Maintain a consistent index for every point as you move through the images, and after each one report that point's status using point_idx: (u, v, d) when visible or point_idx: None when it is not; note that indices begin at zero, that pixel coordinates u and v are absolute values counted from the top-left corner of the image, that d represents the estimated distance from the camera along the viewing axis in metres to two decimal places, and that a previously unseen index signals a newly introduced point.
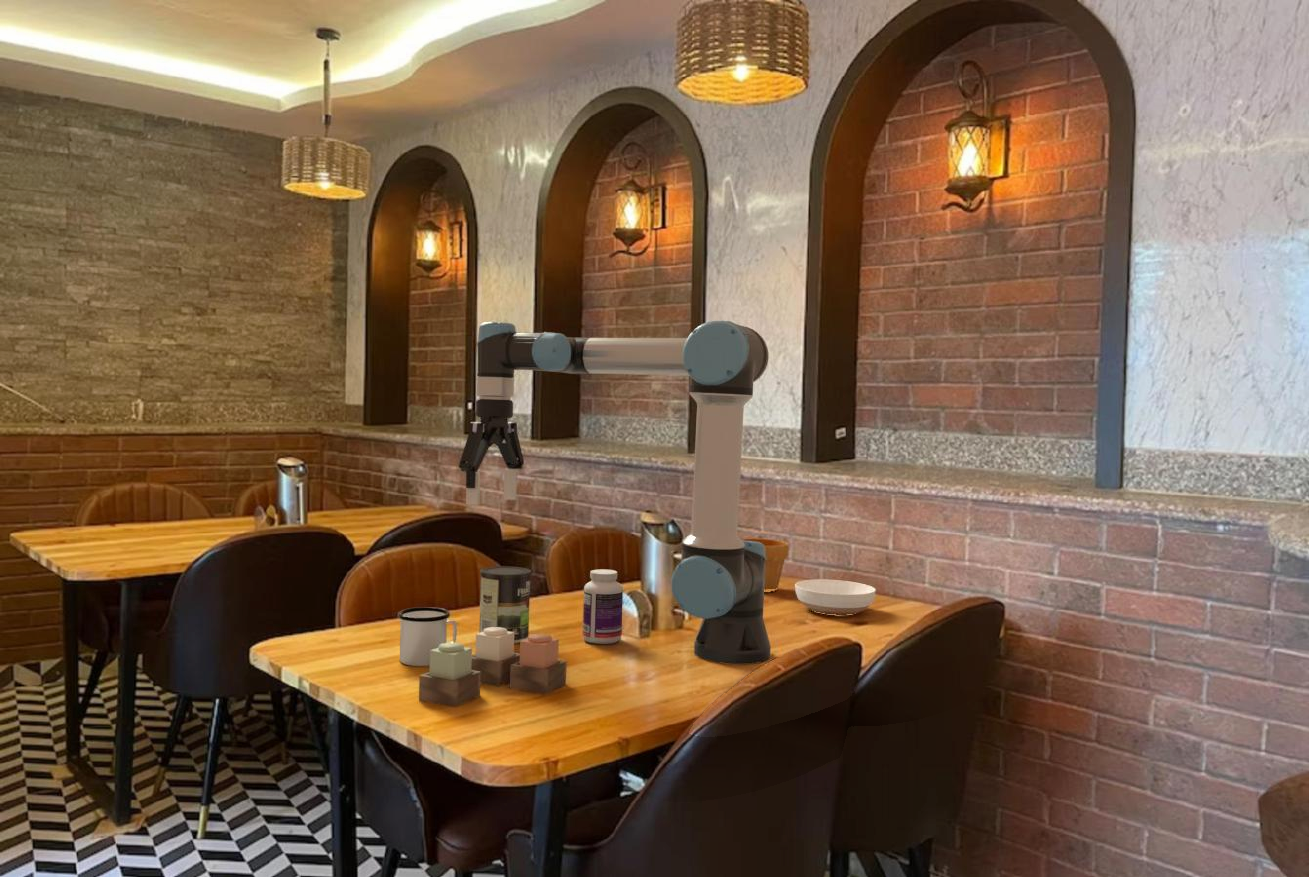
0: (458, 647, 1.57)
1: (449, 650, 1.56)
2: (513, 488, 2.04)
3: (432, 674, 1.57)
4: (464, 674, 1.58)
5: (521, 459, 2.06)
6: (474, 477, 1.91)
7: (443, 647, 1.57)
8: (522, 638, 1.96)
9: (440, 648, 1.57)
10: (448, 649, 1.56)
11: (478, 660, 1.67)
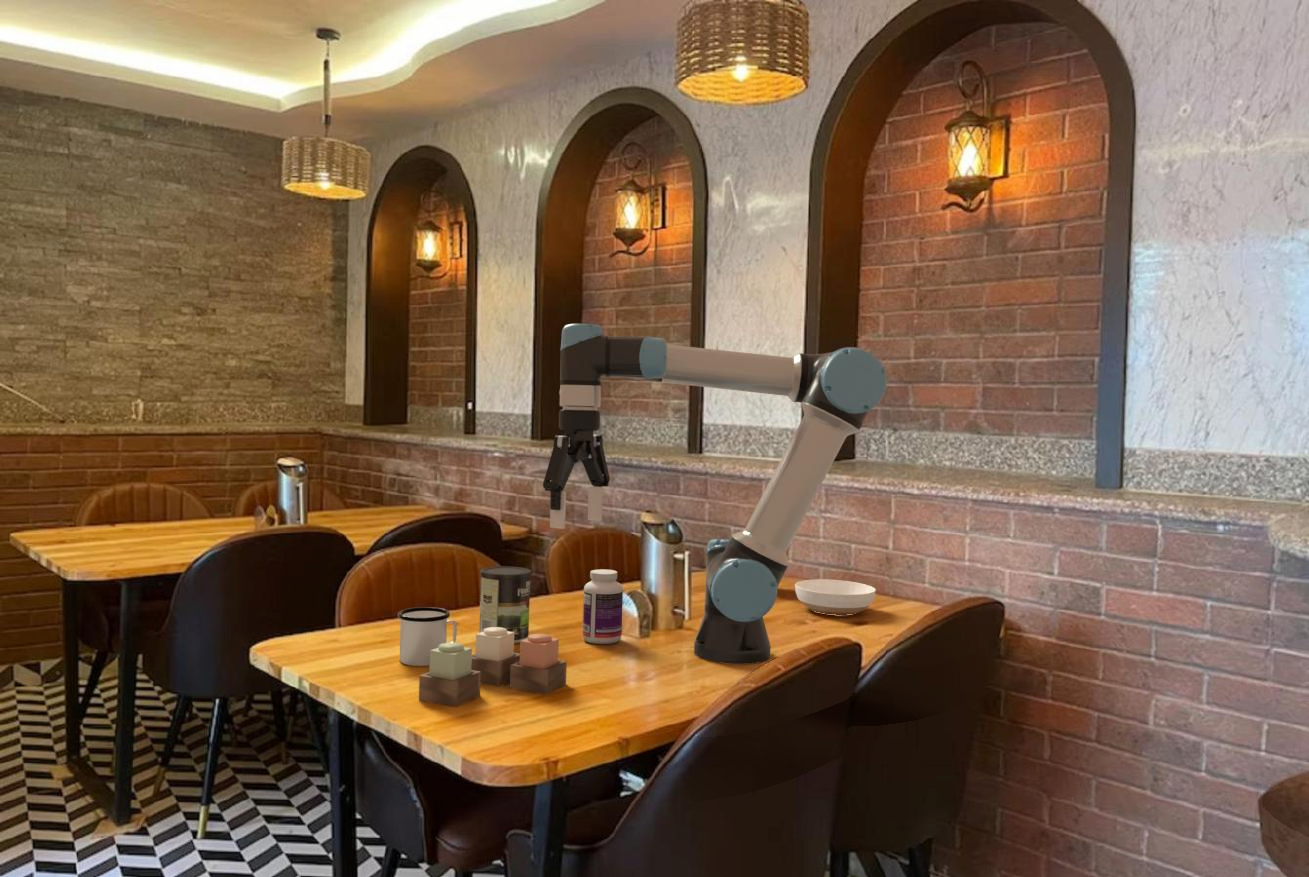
0: (458, 647, 1.57)
1: (449, 650, 1.56)
2: (599, 508, 1.83)
3: (432, 674, 1.57)
4: (464, 674, 1.58)
5: (607, 476, 1.86)
6: (559, 497, 1.71)
7: (443, 647, 1.57)
8: (522, 638, 1.96)
9: (440, 648, 1.57)
10: (448, 649, 1.56)
11: (478, 660, 1.67)
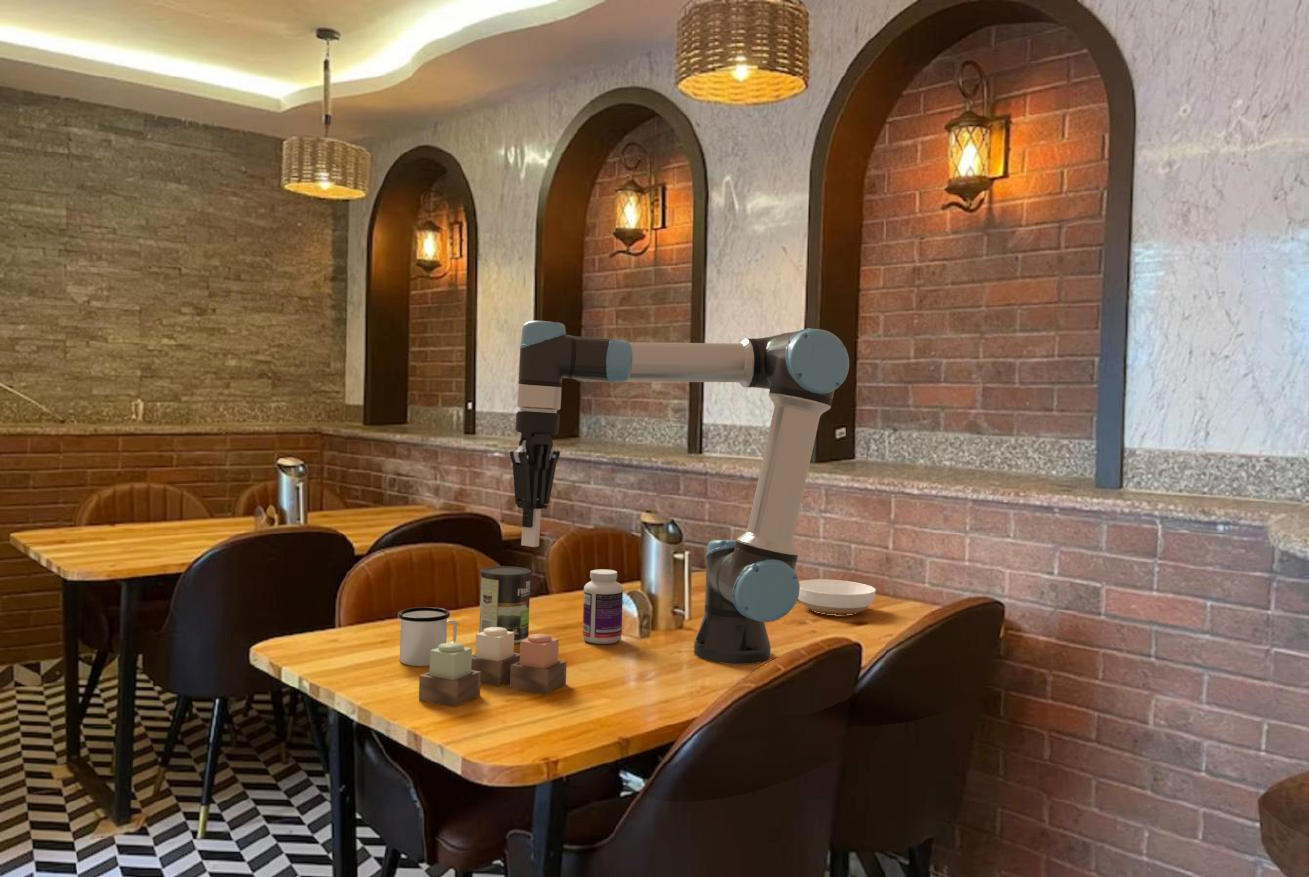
0: (458, 647, 1.57)
1: (449, 650, 1.56)
2: None
3: (432, 674, 1.57)
4: (464, 674, 1.58)
5: (548, 496, 1.71)
6: (532, 515, 1.68)
7: (443, 647, 1.57)
8: (522, 638, 1.96)
9: (440, 648, 1.57)
10: (448, 649, 1.56)
11: (478, 660, 1.67)
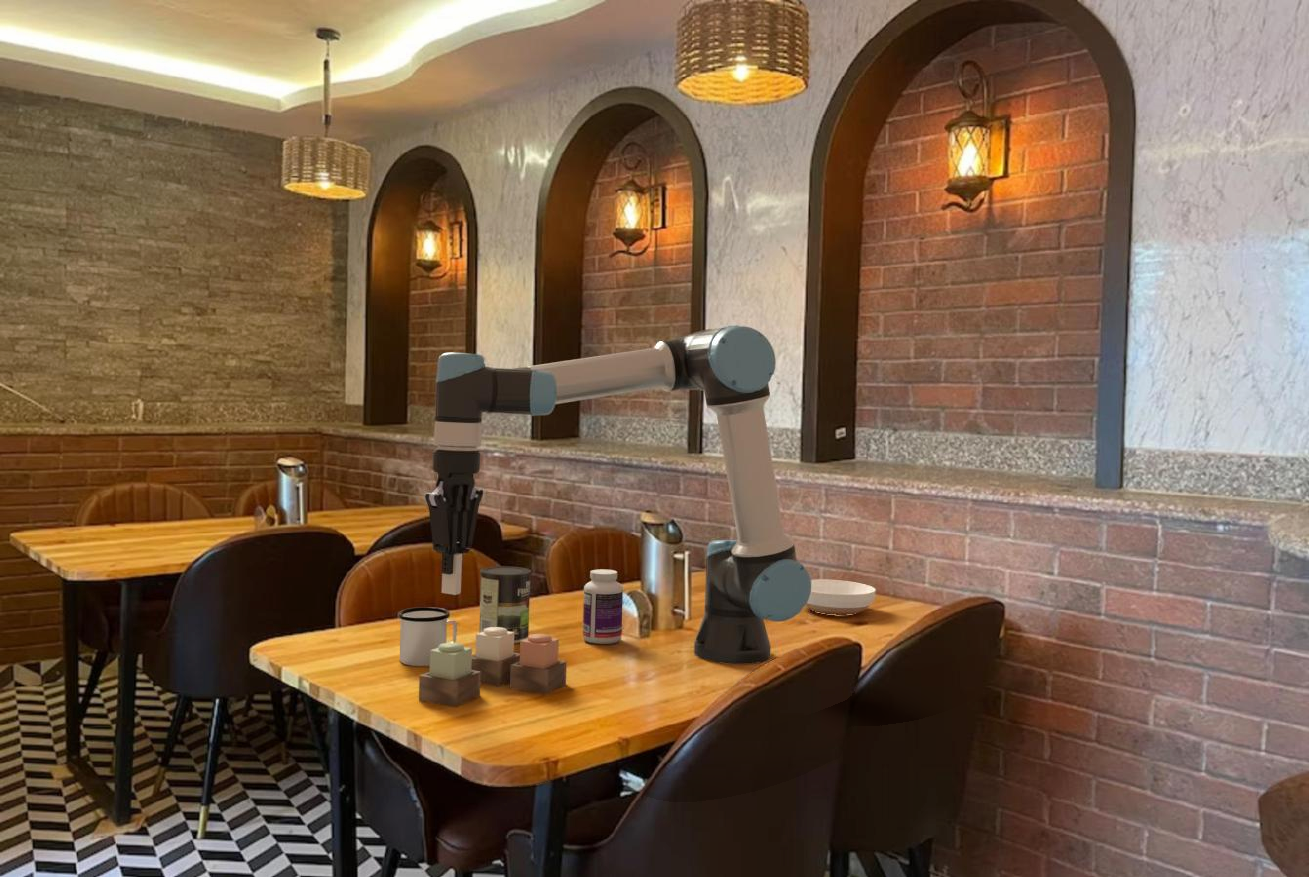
0: (458, 647, 1.57)
1: (449, 650, 1.56)
2: None
3: (432, 674, 1.57)
4: (464, 674, 1.58)
5: (470, 539, 1.60)
6: (452, 560, 1.56)
7: (443, 647, 1.57)
8: (522, 638, 1.96)
9: (440, 648, 1.57)
10: (448, 649, 1.56)
11: (478, 660, 1.67)
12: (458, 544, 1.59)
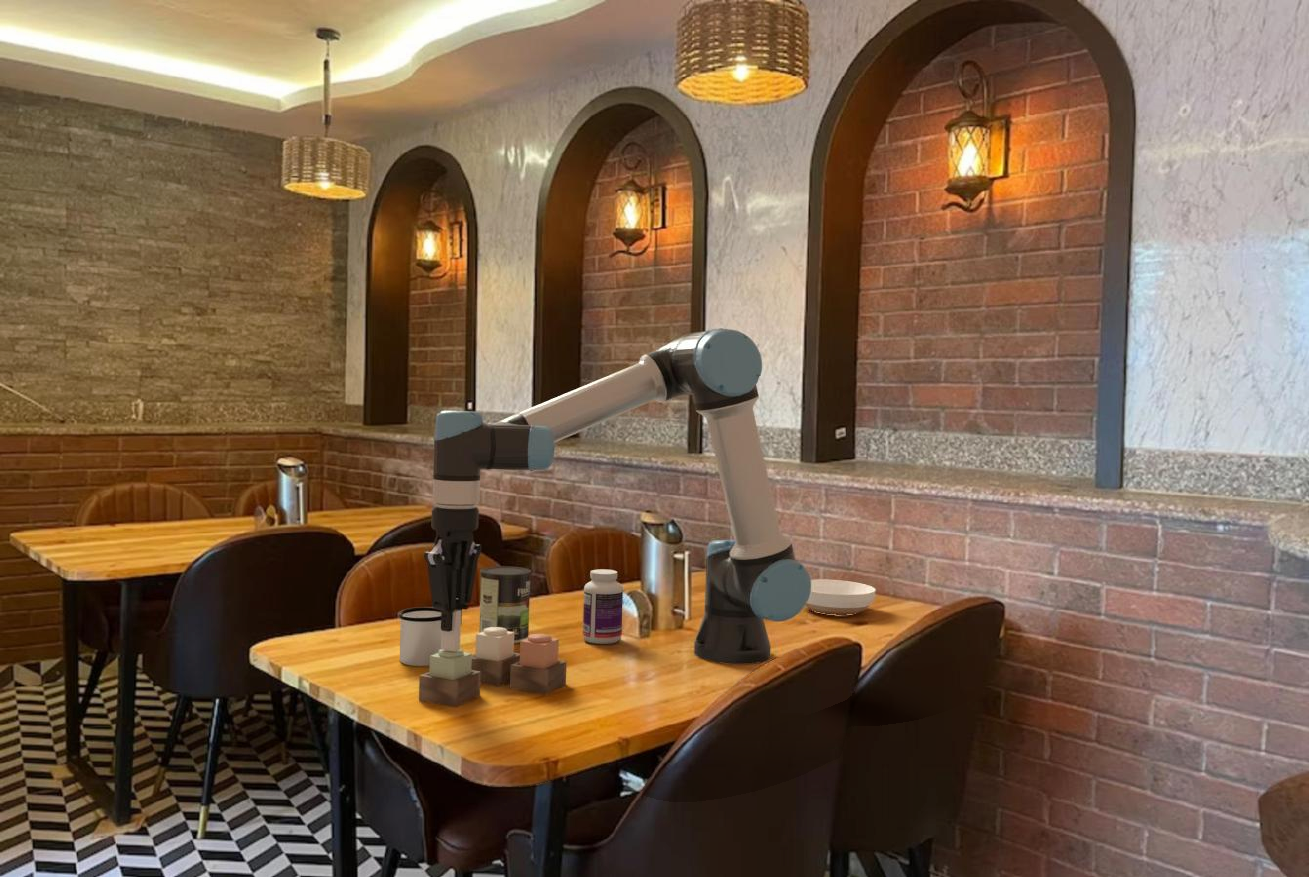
0: (458, 652, 1.57)
1: (449, 655, 1.56)
2: None
3: None
4: None
5: (469, 595, 1.60)
6: (451, 617, 1.57)
7: (443, 652, 1.57)
8: (522, 638, 1.96)
9: (440, 653, 1.57)
10: (448, 654, 1.56)
11: (478, 660, 1.67)
12: (457, 600, 1.59)
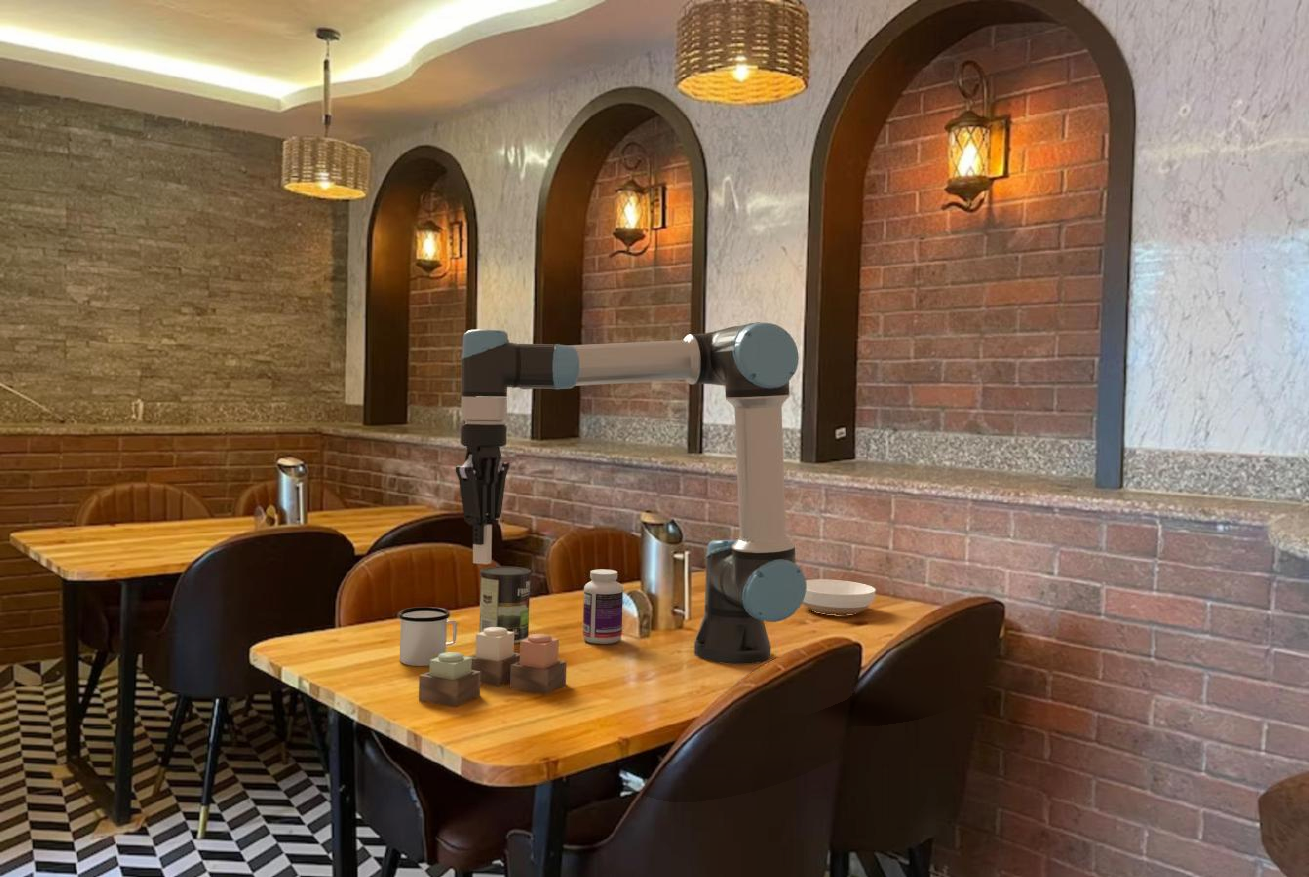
0: (458, 657, 1.57)
1: (449, 660, 1.56)
2: None
3: None
4: None
5: (498, 510, 1.65)
6: (482, 531, 1.61)
7: (443, 657, 1.57)
8: (522, 638, 1.96)
9: (440, 658, 1.57)
10: (448, 659, 1.56)
11: (478, 660, 1.67)
12: (487, 515, 1.64)
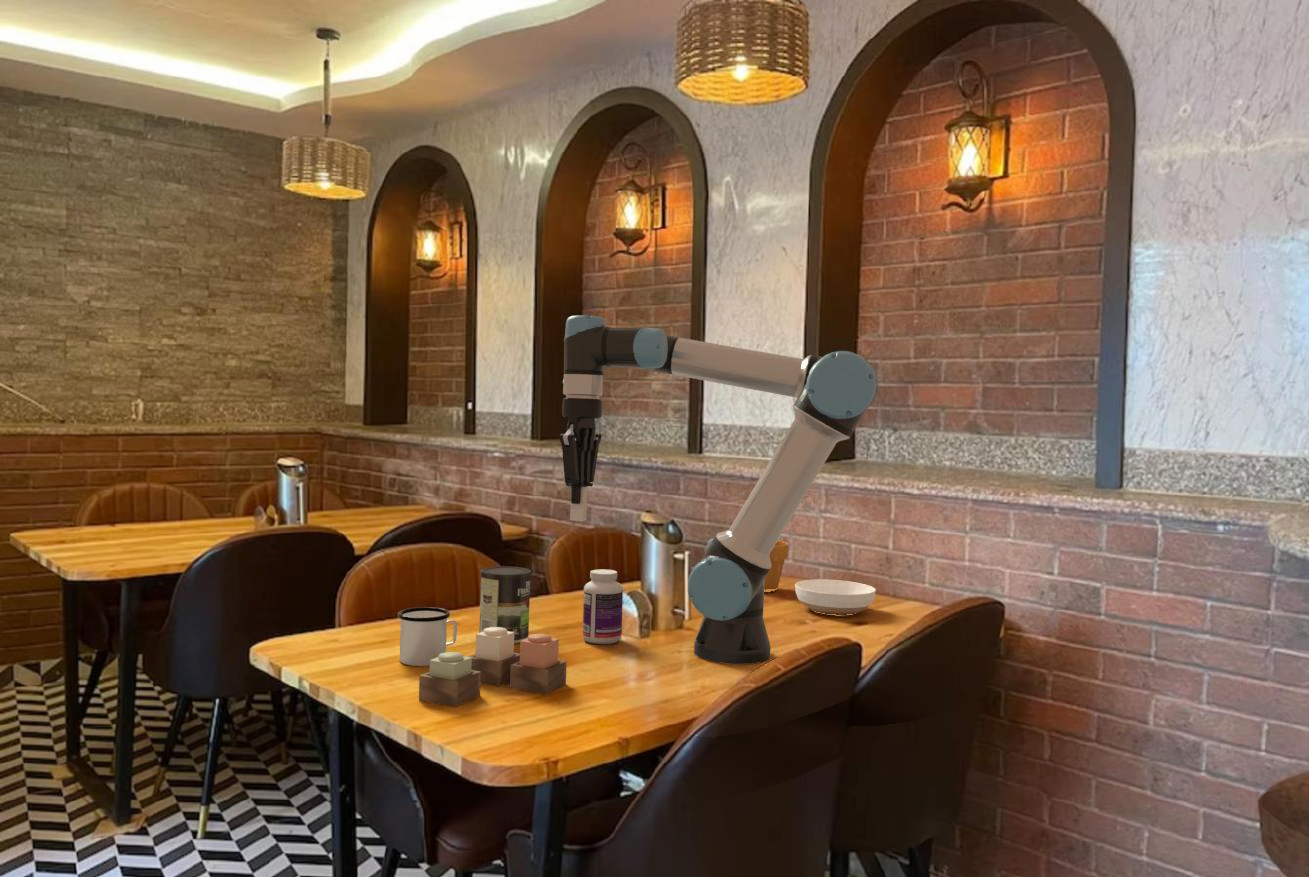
0: (458, 657, 1.57)
1: (449, 660, 1.56)
2: None
3: None
4: None
5: (592, 475, 1.88)
6: (580, 492, 1.84)
7: (443, 657, 1.57)
8: (522, 638, 1.96)
9: (440, 658, 1.57)
10: (448, 659, 1.56)
11: (478, 660, 1.67)
12: None
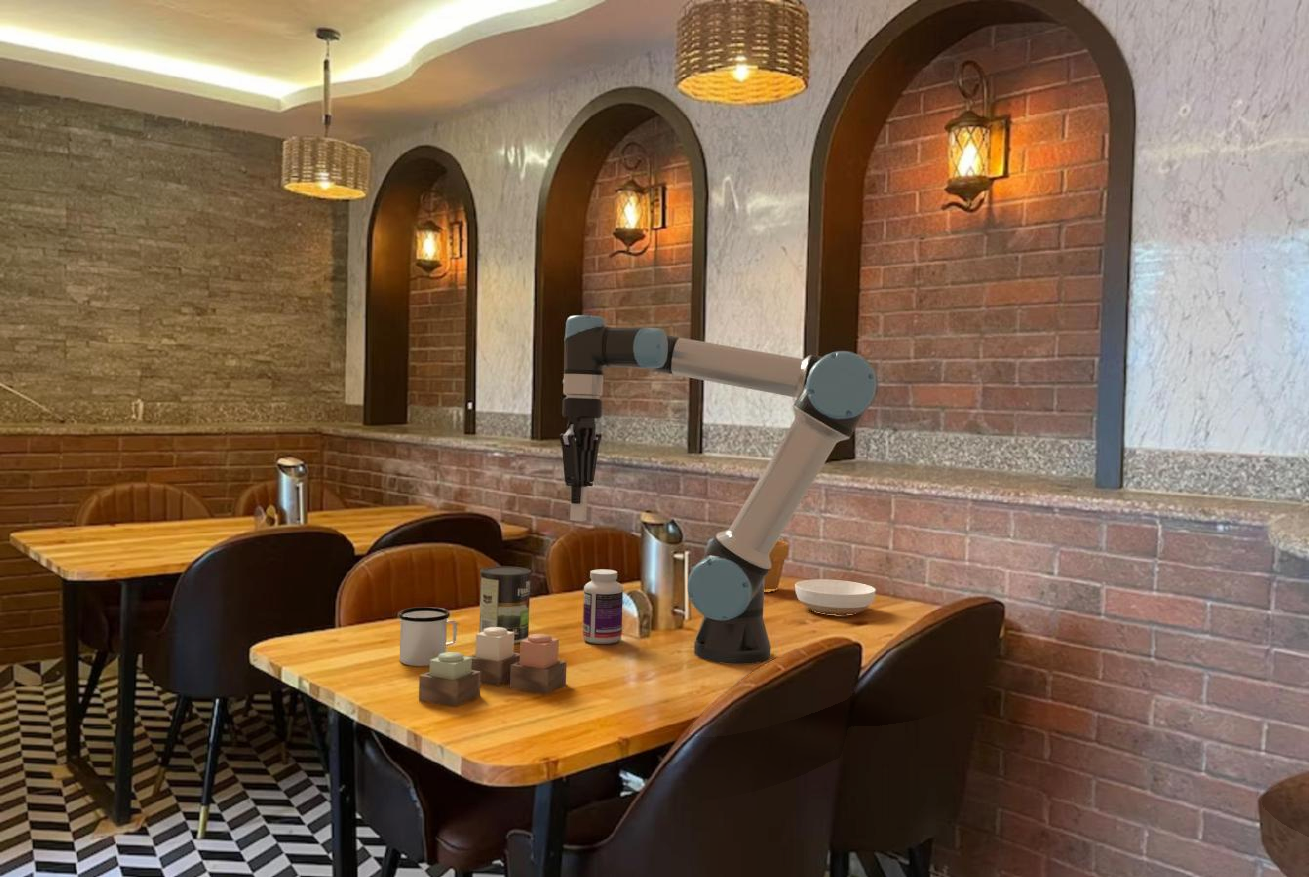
0: (458, 657, 1.57)
1: (449, 660, 1.56)
2: None
3: None
4: None
5: (592, 475, 1.88)
6: (580, 492, 1.84)
7: (443, 657, 1.57)
8: (522, 638, 1.96)
9: (440, 658, 1.57)
10: (448, 659, 1.56)
11: (478, 660, 1.67)
12: (583, 479, 1.87)
